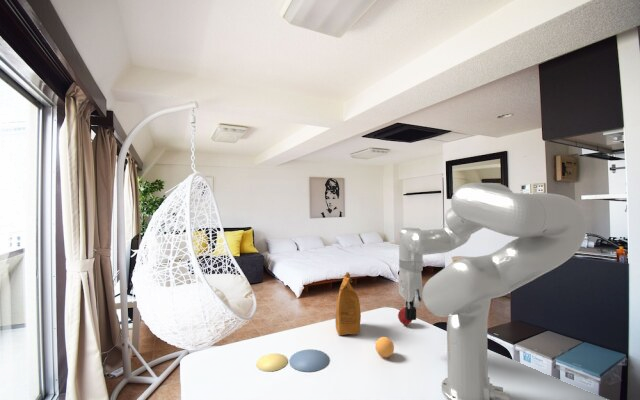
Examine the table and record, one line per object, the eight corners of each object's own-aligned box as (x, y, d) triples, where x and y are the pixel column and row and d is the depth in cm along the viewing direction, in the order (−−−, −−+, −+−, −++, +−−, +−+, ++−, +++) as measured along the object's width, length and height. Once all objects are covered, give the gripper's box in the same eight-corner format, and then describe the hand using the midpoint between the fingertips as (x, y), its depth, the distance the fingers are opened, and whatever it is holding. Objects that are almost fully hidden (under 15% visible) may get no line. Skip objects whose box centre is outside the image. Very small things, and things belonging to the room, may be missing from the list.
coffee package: (359, 323, 122) (358, 271, 122) (361, 337, 109) (360, 279, 110) (336, 323, 123) (335, 271, 123) (335, 336, 110) (334, 278, 110)
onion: (415, 326, 118) (415, 307, 118) (404, 329, 115) (403, 309, 115) (406, 321, 123) (406, 302, 123) (395, 323, 121) (395, 304, 121)
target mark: (336, 356, 96) (336, 355, 96) (316, 376, 85) (316, 376, 85) (303, 346, 103) (303, 346, 103) (281, 364, 92) (281, 363, 92)
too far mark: (293, 359, 95) (293, 358, 95) (274, 375, 86) (274, 374, 86) (270, 351, 100) (270, 350, 100) (249, 365, 91) (249, 365, 91)
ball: (396, 354, 97) (396, 336, 97) (391, 362, 92) (390, 343, 92) (379, 349, 100) (378, 332, 100) (372, 357, 95) (372, 339, 95)
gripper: (392, 260, 104) (392, 310, 105) (408, 271, 89) (408, 329, 90) (412, 259, 105) (412, 309, 105) (431, 270, 90) (431, 328, 90)
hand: (410, 318), depth 97 cm, fingers closed
